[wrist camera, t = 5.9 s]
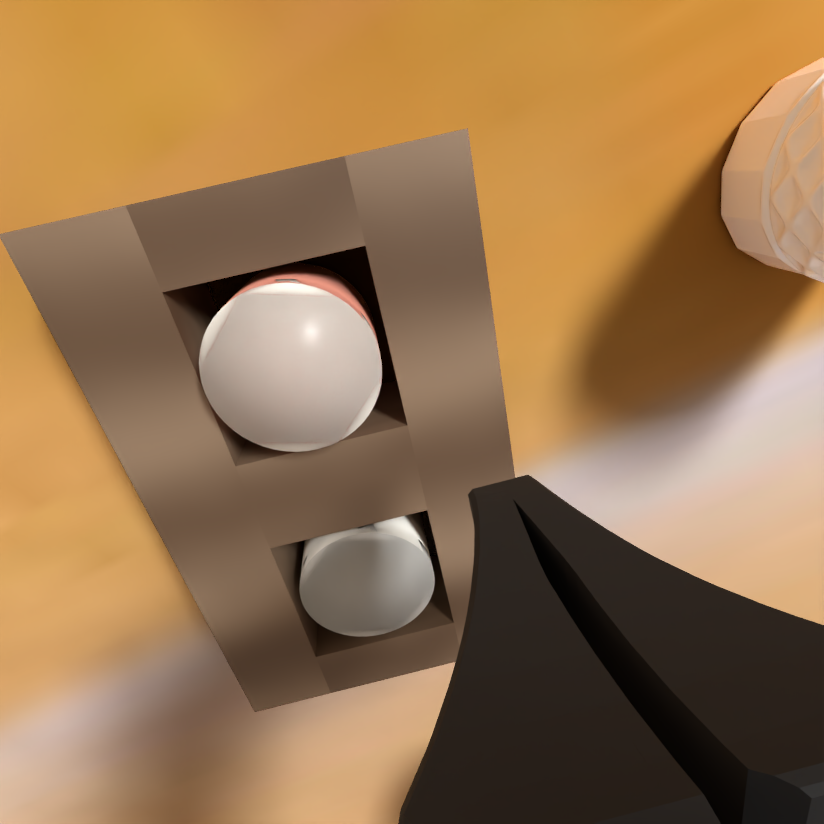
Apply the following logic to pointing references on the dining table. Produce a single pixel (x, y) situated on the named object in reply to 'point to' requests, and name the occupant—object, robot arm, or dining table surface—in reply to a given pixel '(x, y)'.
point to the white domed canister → (368, 577)
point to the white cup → (780, 176)
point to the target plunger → (292, 359)
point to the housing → (283, 470)
